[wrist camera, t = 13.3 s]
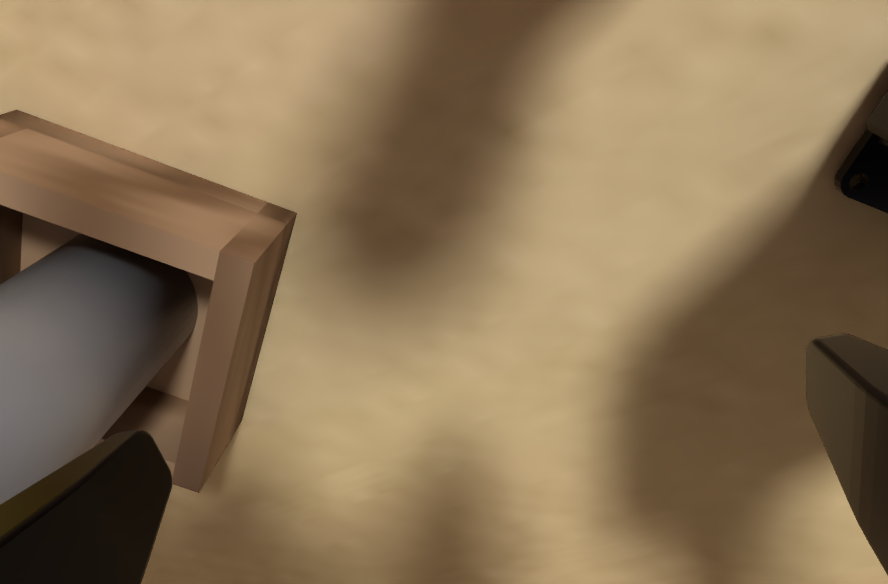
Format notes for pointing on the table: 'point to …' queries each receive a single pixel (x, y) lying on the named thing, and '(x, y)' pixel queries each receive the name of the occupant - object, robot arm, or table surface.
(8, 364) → the charcoal canister
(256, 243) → the walnut socket
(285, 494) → the table surface
